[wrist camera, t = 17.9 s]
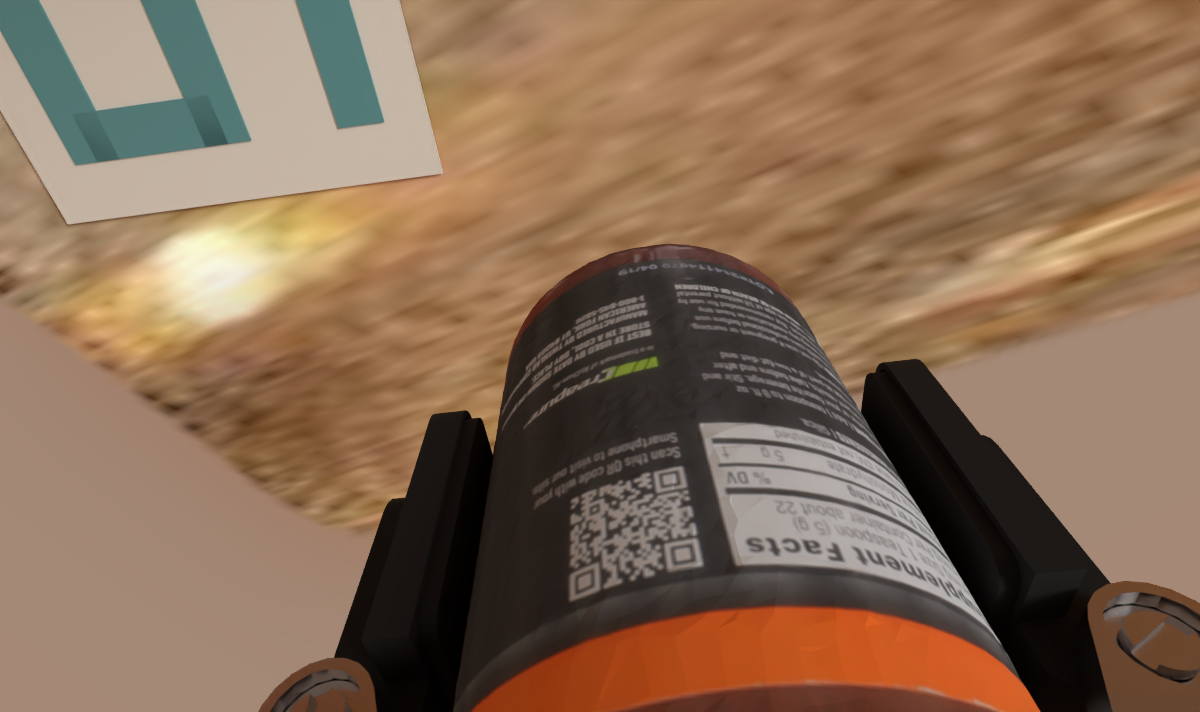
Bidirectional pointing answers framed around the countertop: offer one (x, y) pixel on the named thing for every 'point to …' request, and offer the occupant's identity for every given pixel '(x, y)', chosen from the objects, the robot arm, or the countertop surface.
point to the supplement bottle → (705, 518)
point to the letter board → (210, 100)
